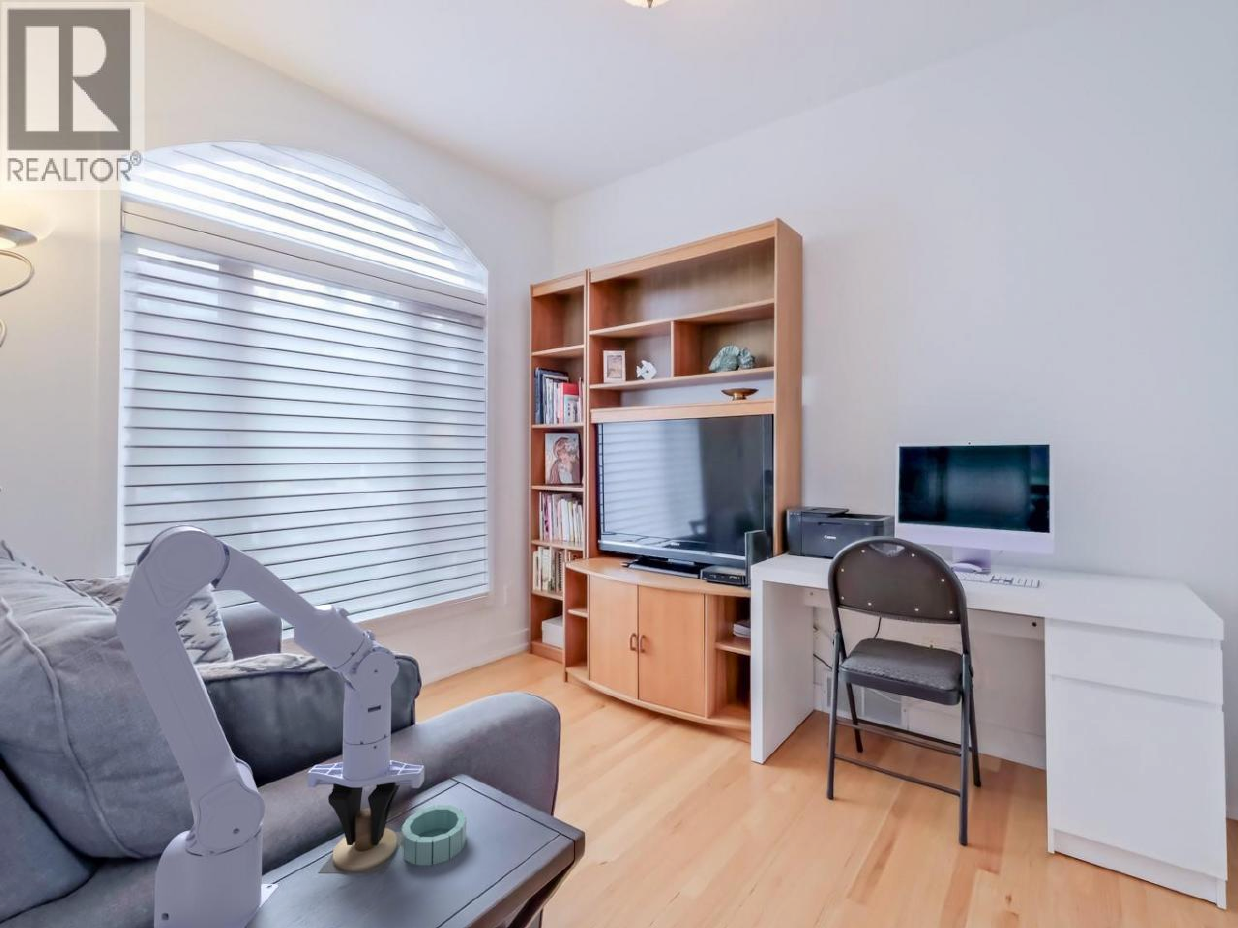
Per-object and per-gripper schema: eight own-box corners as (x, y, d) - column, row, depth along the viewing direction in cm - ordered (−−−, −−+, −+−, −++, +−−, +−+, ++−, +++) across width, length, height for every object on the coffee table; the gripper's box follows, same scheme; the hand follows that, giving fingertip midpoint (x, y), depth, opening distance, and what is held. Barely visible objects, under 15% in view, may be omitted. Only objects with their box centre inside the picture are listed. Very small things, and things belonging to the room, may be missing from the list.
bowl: (392, 867, 71) (392, 841, 71) (415, 828, 79) (415, 805, 79) (455, 868, 71) (455, 842, 71) (472, 828, 79) (472, 805, 79)
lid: (320, 871, 70) (321, 831, 70) (350, 832, 78) (350, 797, 78) (382, 871, 70) (382, 832, 70) (405, 832, 78) (406, 797, 78)
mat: (318, 875, 70) (318, 872, 70) (349, 834, 78) (349, 831, 78) (383, 875, 70) (383, 872, 70) (407, 835, 78) (407, 832, 78)
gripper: (432, 721, 78) (431, 821, 78) (327, 721, 78) (326, 821, 78) (413, 746, 71) (412, 856, 71) (298, 745, 71) (296, 855, 71)
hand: (365, 840), depth 74 cm, fingers closed on lid, 3 cm apart
